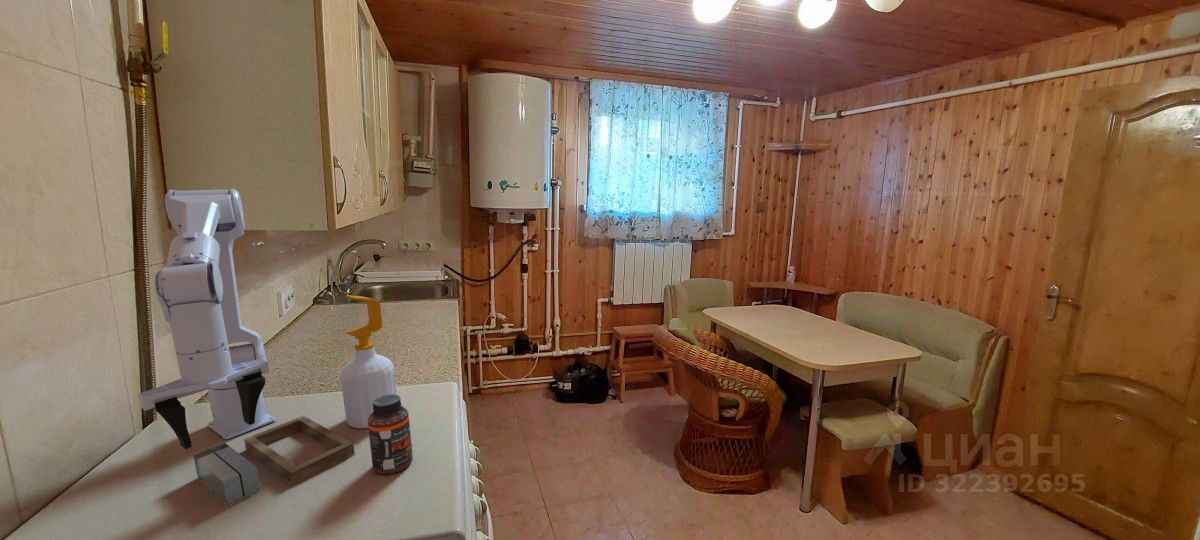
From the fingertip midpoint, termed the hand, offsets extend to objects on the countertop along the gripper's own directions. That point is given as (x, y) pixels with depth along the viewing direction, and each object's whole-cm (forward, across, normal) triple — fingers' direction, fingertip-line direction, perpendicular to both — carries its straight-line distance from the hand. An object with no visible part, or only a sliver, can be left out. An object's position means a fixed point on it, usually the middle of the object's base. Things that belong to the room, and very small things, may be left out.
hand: (219, 433), depth 69 cm
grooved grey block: (+8, 0, 0) cm, 8 cm away
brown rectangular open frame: (+8, +10, 0) cm, 13 cm away
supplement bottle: (+9, +16, -17) cm, 25 cm away
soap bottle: (+9, +23, 0) cm, 25 cm away
